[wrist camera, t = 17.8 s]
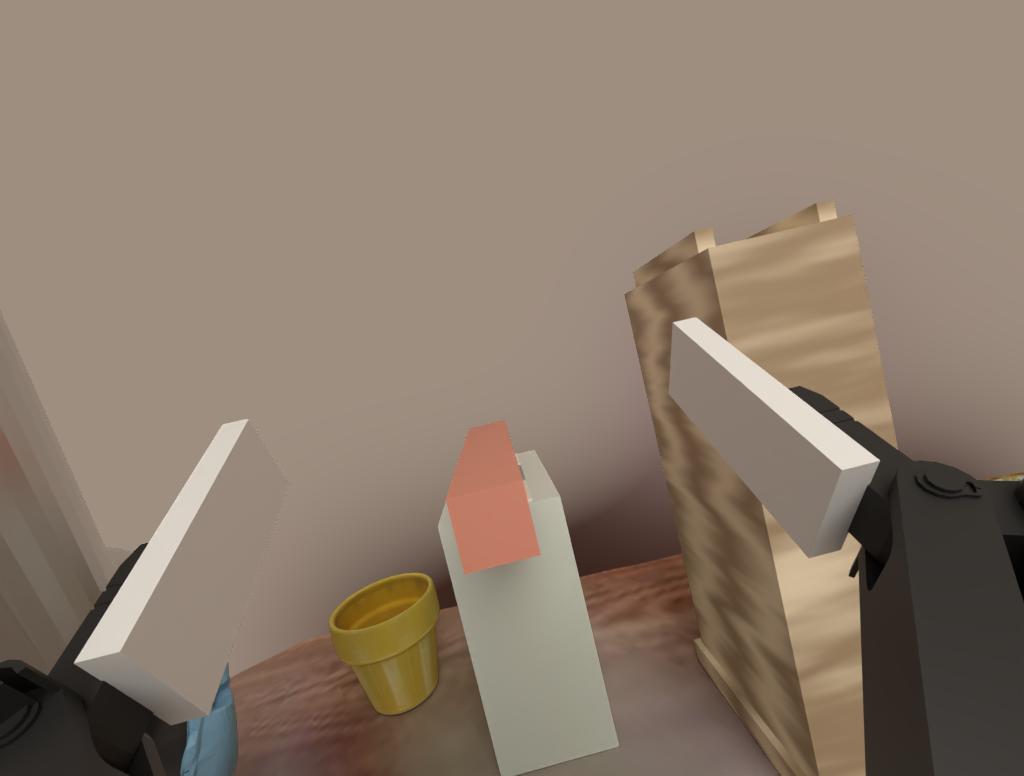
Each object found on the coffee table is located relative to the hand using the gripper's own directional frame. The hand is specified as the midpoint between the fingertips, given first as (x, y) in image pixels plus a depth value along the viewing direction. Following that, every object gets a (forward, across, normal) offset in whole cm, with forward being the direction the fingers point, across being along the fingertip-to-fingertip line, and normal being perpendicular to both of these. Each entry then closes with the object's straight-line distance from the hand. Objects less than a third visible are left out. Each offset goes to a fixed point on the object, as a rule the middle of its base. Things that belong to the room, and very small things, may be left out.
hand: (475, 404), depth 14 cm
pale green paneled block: (+8, 0, -38) cm, 39 cm away
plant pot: (+11, -14, -40) cm, 44 cm away
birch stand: (-1, +18, -32) cm, 37 cm away
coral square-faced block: (+14, -1, -18) cm, 23 cm away
